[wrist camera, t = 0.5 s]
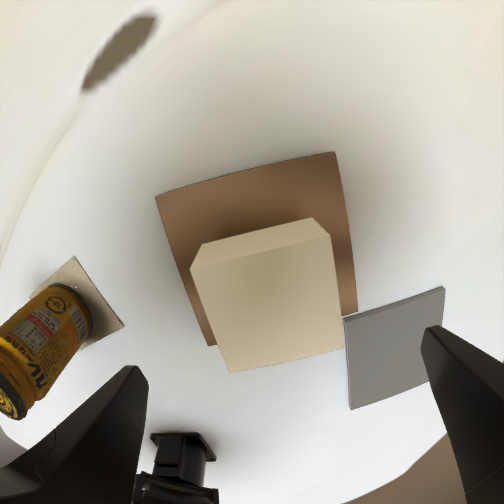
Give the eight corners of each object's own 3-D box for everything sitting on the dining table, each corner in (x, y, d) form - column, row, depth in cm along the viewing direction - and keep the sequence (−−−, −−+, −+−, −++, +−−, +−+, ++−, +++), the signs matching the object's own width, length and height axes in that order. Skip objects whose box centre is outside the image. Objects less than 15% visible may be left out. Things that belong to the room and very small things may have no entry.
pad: (429, 376, 25) (431, 379, 25) (349, 406, 26) (350, 410, 25) (442, 286, 21) (445, 289, 21) (343, 318, 22) (345, 322, 22)
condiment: (30, 295, 21) (-45, 364, 10) (75, 255, 20) (-23, 332, 9) (73, 352, 23) (18, 436, 12) (125, 325, 22) (63, 431, 11)
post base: (354, 305, 22) (388, 359, 15) (209, 338, 22) (198, 401, 16) (330, 151, 18) (373, 151, 11) (159, 194, 19) (115, 216, 12)
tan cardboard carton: (328, 312, 17) (344, 347, 13) (232, 334, 17) (229, 373, 14) (312, 217, 15) (330, 235, 11) (202, 244, 15) (189, 269, 12)
